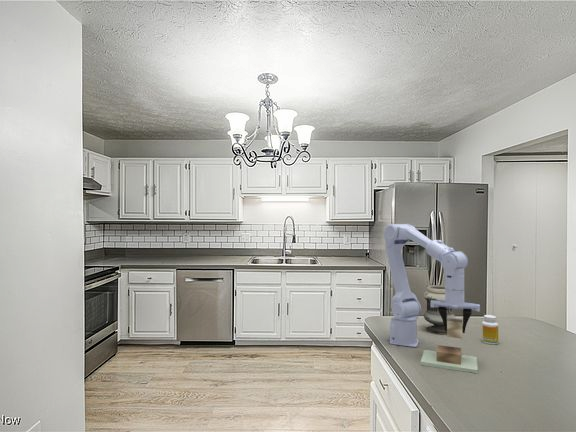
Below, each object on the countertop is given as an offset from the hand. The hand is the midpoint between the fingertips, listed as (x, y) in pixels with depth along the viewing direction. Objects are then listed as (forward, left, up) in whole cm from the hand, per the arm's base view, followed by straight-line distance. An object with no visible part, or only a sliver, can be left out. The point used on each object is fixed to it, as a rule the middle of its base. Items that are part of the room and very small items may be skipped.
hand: (454, 331), depth 123 cm
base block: (-2, -3, -9) cm, 10 cm away
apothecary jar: (-7, +33, -10) cm, 36 cm away
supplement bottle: (+11, +25, -10) cm, 30 cm away
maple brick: (0, 0, -1) cm, 1 cm away
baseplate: (-2, -3, -9) cm, 10 cm away
